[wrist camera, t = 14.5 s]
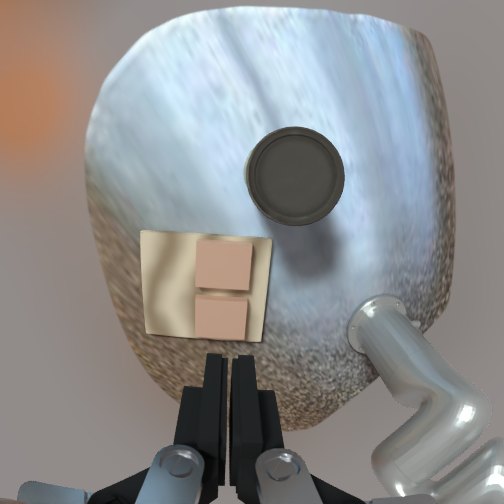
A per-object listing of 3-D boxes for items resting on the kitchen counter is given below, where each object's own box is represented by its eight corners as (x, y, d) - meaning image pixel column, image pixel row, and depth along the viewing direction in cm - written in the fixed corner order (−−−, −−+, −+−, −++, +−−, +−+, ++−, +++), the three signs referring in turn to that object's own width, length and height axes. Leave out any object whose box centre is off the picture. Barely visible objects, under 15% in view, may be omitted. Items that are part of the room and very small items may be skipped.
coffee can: (277, 124, 40) (296, 106, 26) (325, 173, 42) (363, 179, 29) (228, 172, 42) (224, 176, 28) (277, 220, 44) (296, 246, 31)
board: (271, 238, 45) (272, 240, 44) (260, 338, 50) (260, 341, 49) (142, 230, 43) (140, 231, 42) (147, 329, 49) (146, 333, 47)
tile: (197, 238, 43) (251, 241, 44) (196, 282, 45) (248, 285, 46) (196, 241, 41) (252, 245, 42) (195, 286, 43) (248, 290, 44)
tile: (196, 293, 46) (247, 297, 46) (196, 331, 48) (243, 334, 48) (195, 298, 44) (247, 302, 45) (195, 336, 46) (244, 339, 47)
